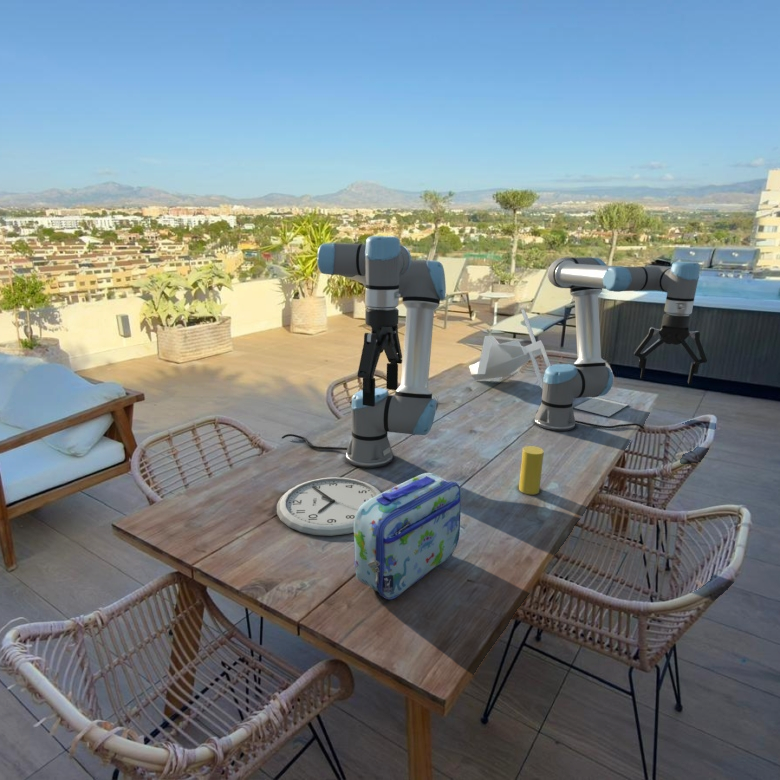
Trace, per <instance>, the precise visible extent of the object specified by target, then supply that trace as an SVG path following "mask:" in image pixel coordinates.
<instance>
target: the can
mask: <svg viewBox="0 0 780 780" xmlns="http://www.w3.org/2000/svg"><path fill="white" fill-rule="evenodd" d="M544 453H545V451H544V449H543V448H541V447H539V446H534V445H527V446H523V448H522V453H521V465H520V472H519V473H520V475H519V483H518V490H519V491H520V492H521V493H523V494H525V495H531V496H533V495H537V494H539V493H540V489H541V480H542V479H541V478H542V471H543V464H544V463H543V461H544Z"/></svg>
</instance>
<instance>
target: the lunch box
mask: <svg viewBox="0 0 780 780" xmlns="http://www.w3.org/2000/svg"><path fill="white" fill-rule="evenodd" d="M461 503H462V502H461V487H460V485H459V483H457V482H455V481H448V480H446V479H445V478H442V477H440V476H439V475H437V474H434V473H432V472H424V473H422V474H419V475H416V476H415V477H412V478H409V479H407V480H406V481H404V482H402V483H399V484H398V485H395V486H394V487H391V488H389V489H387V490H385V491H383V492H382V493H381V494H379V495H377V496H375V497H373V498H371V499H369V500H367V501H365V502H364V503H363V504H362V505H361V506H360V508H359V509H358V511H357V513H356V515H355V519H354V532H353V546H354V547H353V548H354V571H355V572H354V573H355V576H356V579H357V580H358V581H359V582H360V583H363V584H364V585H367V586H368V587H370V588H372V589H373V590H374V591H376V592H378V594H379V595H380V596H381V597H382V598H384V599H386V600H394V599H396V598H398V597H399V596H400V595H402V594H403V593H404V592H405V591H406V590H407V589H409V588H410V587H412V586H413V585H414V584H416V583H417V582H418V581H420V580H421V579H422V578H424V577H425V576H426V575H427V574H428V573H429V572H430V571H432V570H433V569H435V568H437V567H438V566H439V565H441V564H443V563H444V562H445V561H447V560H448V559H449V558H451V556H452V555H453V554H454V552H455V550H456V549H457V546H458V543H459V539H460V531H461V510H462V509H461V508H462V507H461Z"/></svg>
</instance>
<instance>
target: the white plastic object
mask: <svg viewBox="0 0 780 780" xmlns="http://www.w3.org/2000/svg"><path fill="white" fill-rule="evenodd" d="M520 311H521V315H522V317H523V321H524V323H525V326H526V329H527V332H528V336H529V338H530V341H531V343H529V344H527V345H525V346H524V345H522V343H521V342H520V340H519V339H514V340H510V341H505V342H502V343H501V342H499V341H498V340H497V338H495V336H494V335H484V337H483V342H482V348H481V351H480V352H481V353H480V357H479V361H477V362H475V363H472V364H470V365H469V366H468V367H469V371H470V375H471V376H472V378H473V379H474V381H480V380H488V379H498V378H499V379H500V378H501V379H503V380H504V379H506V378H508V377H511V376H512V373H513V372H515V371H516V370H518V369H520V368H521V367H522V366H524V365H525V364H527V363H528V362H529V361H531V364H532V367H533V369H534V373H535V375H536V379H537V382H538V386H539V387H540V389H541V390H542V391H543V382H544V381H543V377H542V374H541V371H540V368H539V365H538V362H537V359H536V357H538V356H541V355H542V357H543V361H544V363H545V367H546V369H547V368H548V367H549V366H552V365H551V363H550V360H549V356H548V353H547V351H546V348H545V345H544V344H543V341H542V340H541V339H540V340H537V339H536V338H535V335H534V332H533V328H532V325H531V323H530V320H529V317H528V314H527V312H526V310H525V308H521V309H520ZM536 340H537V341H536Z"/></svg>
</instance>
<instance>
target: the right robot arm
mask: <svg viewBox="0 0 780 780" xmlns="http://www.w3.org/2000/svg"><path fill="white" fill-rule="evenodd" d="M700 268H701V265H700V264H699V262H692V261H690V262H689V261H673V263H672V264H671V267H668V266H660V265H646V266H623V265H618V266H617V265H607V264H606V262H605V261H604V260H602V258H599V257H592V256H582V257H581V256H578V257H575V256H574V257H570V256H569V257H567V256H565V257H560V258H558V259H556V260H554V261H553V262H552V263H551V264H550V265H549V268H548V270H547V279H548V281H549V282H550V283H551V285H553V286H554V287H555V288H560V289H569V293H570V296H572V297H573V298H574V312H575V313H574V314H575V315H574V316H575V334H576V352H577V353H576V354H577V355H576V356H577V359H576V360H575V361H574V363H573V364H571V363H556V364H552V365H551V366H549V367H548V368H547V367H546V369H545V370H544V375H543V377H542V380H543V390H542V394H541V402H540V405H539V407H538V409H537V410H536V413H535V416H534V424H535V425H536V426H537V427H539V428H542V429H544V430H549V431H556V432H567V431H572V430H574V429H575V428H576V424H580V425H585V426H591V427H596V428H601V429H614V428H620V427H632V426H633V427H634V426H635V427H639V428H640V429H641V430H642V429H643V430H645V427H644V426H643V425H641V424H639V423H624V424H623V423H621V424H620V423H619V424H615V425H614V424H613V425H601V424H596V423H590V422H585V421H580V420H577V419H576V418H575V417H576V416H575V413H574V407H573V405H574V399H582V398H583V399H586V398H594V397H597V398H599V397H603V396H605V395H607V394H608V393H609V392H610V391H611V389H612V387H613V384H614V374H613V371H612V370H611V368H610V367H608V366H606V365H607V364H606V361H605V360H604V359H603V358H602V349H601V327H600V325H601V324H600V307H599V306H600V304H599V296H600V295H601V293H602V292H603V290H607V291H609V292H614V293H615V292H616V293H617V292H618V293H620V292H662V293H663V292H664V293H666V297H665V304H664V309H663V312H664V314H663V315H662V319H661V326H660V328H655V327H654V326H653V327H652V326H651V327H650V328H649V329H648V334H646V336H645V337H644V338H643V340H642V341H641V342H640V344H639V345H638V346H637V347H636V349H635V350H634V352H633V354H634V356H635V357H638V359H639V360H638V369H641V370H640V380H644V377H645V372H646V367H647V366H646V365H647V360H648V359H647V356H649V355H650V354H651V353H652V352H653V351H655V350H656V349H657V348H658V347H660V346H661V345H663V344H664V343H665V344H666V345H675V346H678V345H682V346H683V348H684V349H685V350H686V352H687V353H688V354H689V357H690V358H691V359H692V360H693V361H691V363H690V368H689V372H688V378H687V384H688V385H692V384H693V379H694V375H697V374H698V372H699V369H700V364H705V363H707V362H708V358H707V356H706V354H705V351H704V348H703V346H702V342H701V340H700V338H701V333H700V332H699V330H695V331H690V324H691V319H692V316H691V315H692V313H693V307H694V302H695V297H696V292H697V288H698V282H699V280H700V270H701V269H700ZM657 334H658V335H659V336H660V337H659V338H658V339H656V341H654V342H653V343H652V344H651V345H650V346H648V347H647V348H646V349H645V347H646V346H647V345H648V344H649V342H650V341H651V340H652V338H653V337H654V336H656V335H657ZM690 336H691V339H693V340H694V344H695V346H696V348H697V351H698V354H699V357H700V358H698V356H697V355H696V354H695V352H694V350H693V349H692V348H691V347H690V345H689V344H688V343H687V341H686V340H687V338H689V337H690ZM644 349H645V350H644ZM643 350H644V351H643Z"/></svg>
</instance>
